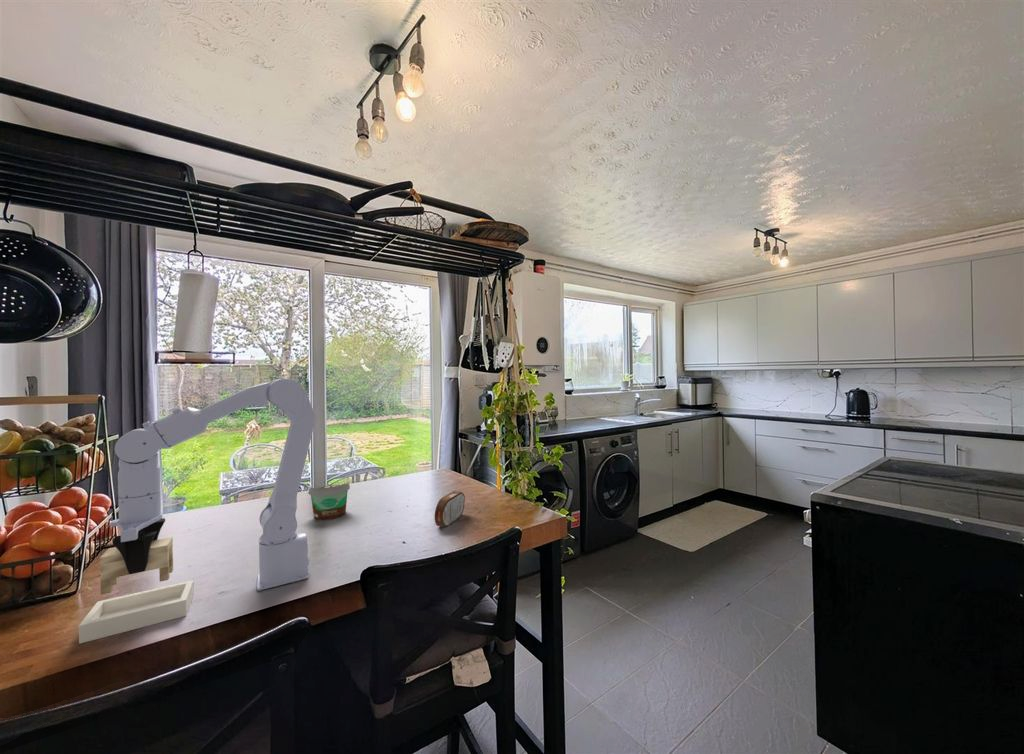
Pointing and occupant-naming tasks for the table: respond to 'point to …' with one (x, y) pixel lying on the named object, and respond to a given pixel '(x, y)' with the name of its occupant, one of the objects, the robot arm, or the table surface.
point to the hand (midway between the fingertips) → (141, 566)
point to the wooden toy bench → (115, 567)
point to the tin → (449, 508)
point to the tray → (136, 611)
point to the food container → (329, 501)
